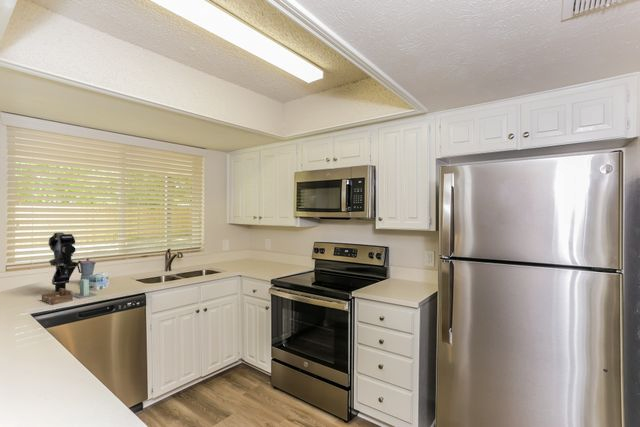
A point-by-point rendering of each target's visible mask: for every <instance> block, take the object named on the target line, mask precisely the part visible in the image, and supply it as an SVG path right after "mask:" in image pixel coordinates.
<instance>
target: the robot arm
mask: <svg viewBox="0 0 640 427" xmlns="http://www.w3.org/2000/svg"><path fill="white" fill-rule="evenodd" d="M75 244H76V239H75V237H74V235H73V234H72V233H64V232H54V233H53V235H52V236H50V237H49V239H48V246H49V248H50V250H51V251H52V252H53V257H54V258H53V259H50V260H49V261H48V262H49V264H50V266H53V267H54V266H55V272H54V274H53V276H52V279H51V285H53V286H54V292H59V288H63V289H67V287H66V286H67V284H69V283H70V278H71V276H72V275H73V273H74V271H75V269H76V268H77V263H78V262H76V261H74V260H72V257H73V254H74V253H75V252H76V247H75V246H74V245H75Z"/></svg>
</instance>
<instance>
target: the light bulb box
mask: <svg viewBox="0 0 640 427" xmlns="http://www.w3.org/2000/svg"><path fill="white" fill-rule="evenodd" d="M107 288H110V273H109V272H98V273H93V275H90V285H89V291H99V290H103V289H107Z"/></svg>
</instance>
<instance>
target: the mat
mask: <svg viewBox="0 0 640 427" xmlns="http://www.w3.org/2000/svg"><path fill="white" fill-rule="evenodd" d="M73 296H74V297H73V298H77V299H85V298H90V297H95V296H98V294H96V293H93V292H90V291H89V295H86V296H82V295H80V293H77V294H73Z"/></svg>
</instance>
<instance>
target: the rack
mask: <svg viewBox="0 0 640 427" xmlns="http://www.w3.org/2000/svg"><path fill="white" fill-rule="evenodd" d="M57 295H60V296H59V297H55V296H57ZM73 295H74V294H73V290H70V289H67V288H66V289H63V288H59V292H55V291H53V292H49V293H43V294H41V302H43V301H45V302H44V303H46V302H48V303H47V304H49V303H51V304H50V305H52V306H53V305H59V304H64V303H68V301H69V302H72V301H73V298H74V297H73Z"/></svg>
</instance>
